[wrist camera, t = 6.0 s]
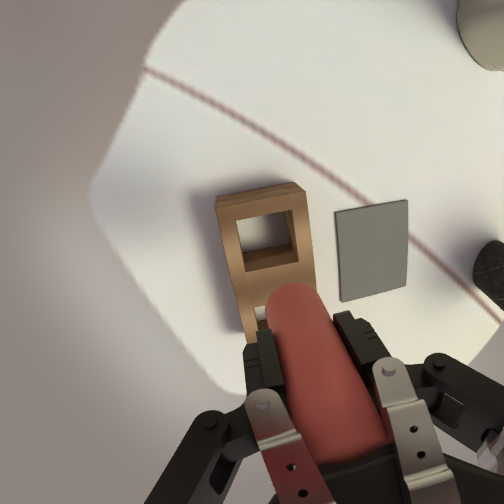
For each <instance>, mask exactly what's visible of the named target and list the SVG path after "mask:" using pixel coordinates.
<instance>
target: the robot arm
mask: <svg viewBox="0 0 504 504" xmlns="http://www.w3.org/2000/svg"><path fill="white" fill-rule="evenodd" d="M458 1H459V8H458V11H457V25H458V29H459V33H460V35H461V38H462V40H463V42H464V44H465V46H466V48H467V50H468V51H469V53H470V54H471V56H472V57H473V58H474V59H475V60H476V61H477V62H478V63H479V64H480V65H481V66H482V67H484V68H485V69H488V70H490V71H504V0H458ZM333 323H334V325H335V327H336V329H337V331H338V333H339V335H340V337H341V339H342V341H343V343H344V345H345V346H346V348H347V350H348V352H349V354H350V356H351V358H352V360H353V362H354V364H355V366H356V368H357V370H358V372H359V374H360V376H361V378H362V380H363V382H364V384H365V386H366V388H367V390H368V393H369V395H370V397H371V399H372V401H373V403H374V405H375V407H376V409H377V411H378V413H379V415H380V417H381V421H382V424H383V427H384V430H385V433H386V436H387V437H389V438H390V440H391V443H390V444H387V445H385V446H382V447H379V448H377V449H375V450H374V451H372V452H371V453H369V454H367V455H366V456H364V457H362V458H360V459H359V460H357V461H355V462H347V463H332V464H323V465H319V466H316V464H315V462H314V460H313V458H312V456H311V454H310V452H309V450H308V448H307V446H306V444H305V442H304V440H303V438H302V436H301V434H300V433H299V432H297V431H296V430H295V428H294V426H293V423H292V421H291V419H290V417H289V415H288V411H287V407H286V391H285V386H284V381H283V377H282V372H281V368H280V364H279V360H278V355H277V351H276V347H275V343H274V338H273V334H272V330H271V328H269V329H265V330H260V331H256V337H257V342H256V343H250V344H246V346H245V348H244V351H243V361H244V371H245V381H246V390H247V396H246V399H245V401H244V403H243V404H242V405H241V406H240V407H239V408H237V409H235V410H233V411H231V412H229V413H226V414H223V413H222V412H220V411H215V410H210V411H205V412H203V413H201V414H199V415H198V416H197V417H196V418H195V420H194V421H193V423H192V425H191V426H190V428H189V430H188V431H187V433H186V435H185V436H184V438H183V440H182V442H181V443H180V445H179V447H178V448H177V450H176V452H175V453H174V455H173V457H172V458H171V460H170V462H169V463H168V465H167V467H166V468H165V470H164V472H163V473H162V475H161V476H160V478H159V480H158V481H157V483H156V485H155V486H154V488H153V490H152V491H151V493H150V495H149V496H148V498H147V499H146V501H145V503H144V504H223V501H224V500H225V497H226V495H227V493H228V491H229V489H230V487H231V484H232V482H233V480H234V478H235V475H236V473H237V471H238V469H239V467H240V465H241V462H242V460H243V458H245V457H247V456H249V455H252V454H254V453H256V452H258V451H261V454H262V457H263V460H264V462H265V465H266V468H267V470H268V473H269V475H270V478H271V481H272V483H273V486H274V488H275V491H276V494H275V495H274V496H273V497H272V499H271V500H270V502H269V503H268V504H504V386H503V385H501V384H499V383H497V382H495V381H493V380H492V379H490V378H488V377H486V376H485V375H483V374H481V373H479V372H477V371H475V370H474V369H472V368H470V367H468V366H467V365H465V364H463V363H461V362H459V361H457V360H456V359H454V358H452V357H450V356H448V355H446V354H443V353H434V354H431V355H429V356H428V357H427V358H426V359H425V361H424V364H413V365H406V364H404V363H403V362H402V361H401V360H399V359H397V358H394V357H392V356H391V355H390V353H389V352H388V350H387V349H386V347H385V346H384V344H383V343H382V341H381V339H380V338H379V337H378V335H377V333H376V332H375V331H374V329H373V327H372V326H371V324H370V323H369V322H367V321H366V320H364V319H362V318H359V319H354V317H353V316H352V314H351V313H350V311H349V310H348V311H344V312H340V313H336V314H333ZM445 393H446V394H447V395H446V394H445ZM448 395H449V396H450V397H449V396H448ZM451 397H452V398H454V399H455V400H454V399H452V398H451ZM456 400H457V401H459V402H460V403H462V404H463V405H462V404H460V403H459V402H457V401H456ZM433 424H434V425H435V426H437V427H438V428H440V429H441V430H443V431H444V432H446V433H447V434H449V435H450V436H451V437H453V438H455V439H456V440H457V441H459V442H461V443H462V444H464V445H465V446H466V447H468V448H470V449H471V450H473V451H474V452H476V453H477V459H478V465H479V467H478V466H475V465H472V464H470V463H467V462H465V461H462V460H459V459H457V458H455V457H452V456H450V455H447V454H445V453H443V452H442V449H441V446H440V443H439V440H438V437H437V434H436V431H435V428H434V425H433ZM483 468H485V469H483Z"/></svg>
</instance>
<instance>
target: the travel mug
mask: <svg viewBox="0 0 504 504" xmlns="http://www.w3.org/2000/svg"><path fill="white" fill-rule="evenodd" d="M473 280H474V283H475V285H476V286H477V287H478V288H479V289H480V290H481V291H482V292H484V293H485V294H486V295H487V296H488V297H489V298H490V299H491V300H492V301H493V302H494V303H496V304H497V305H498V306H499V307H500V308H501V309H502V310H503V311H504V243H502V242H500V241H492V242H490V243H488V244H487V245H486V246H485V247H484V248H483V249H482V251H481V252H480V254H479V255H478V257H477V259H476V262H475V265H474V269H473Z"/></svg>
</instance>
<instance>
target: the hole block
mask: <svg viewBox="0 0 504 504" xmlns="http://www.w3.org/2000/svg"><path fill="white" fill-rule="evenodd" d="M215 210H216V215H217V219H218V224H219V228H220V232H221V237H222V241H223V246H224V250H225V254H226V258H227V263H228V267H229V271H230V275H231V280H232V284H233V288H234V292H235V296H236V300H237V305H238V309H239V313H240V317H241V321H242V325H243V329H244V333H245V337H246V341H247V344H250V343H256V342H257V337H256V331H260V330H265V329H269V327H268V322H267V320H263V321H258V322H257V319H256V314H255V310H254V307H258V306H263V305H266V303H267V300H268V299H269V297H270V296H271V294H272V293H273V292H274V291H276V290H277V289H278V288H280V287H282V286H284V285H287V284H291V283H303V284H306V285H309V286H311V287H312V288H314V289H315V290H316V292H317V289H316V278H315V268H314V258H313V248H312V239H311V231H310V222H309V214H308V206H307V198H306V191H305V190H303V189H302V188H301V187H300V186H299V185H297V184H296V183H295V182H292V183H286V184H280V185H275V186H269V187H264V188H258V189H253V190H248V191H243V192H238V193H233V194H228V195H223V196H218V197H216V205H215ZM282 211H285V215H286V222H287V229H288V236H289V242H290V244H287V245H282V246H277V247H272V248H267V249H262V250H257V251H252V252H247V253H242V248H241V243H240V238H239V234H238V229H237V224H236V220H241V219H246V218H251V217H256V216H261V215H266V214H271V213H277V212H282Z"/></svg>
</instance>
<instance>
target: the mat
mask: <svg viewBox="0 0 504 504" xmlns="http://www.w3.org/2000/svg"><path fill="white" fill-rule="evenodd" d="M335 215H336V226H337V238H338V252H339V268H340V288H341V302H342V303H343V302H347V301H351V300H355V299H359V298H363V297H367V296H371V295H374V294H378V293H382V292H386V291H389V290H393V289H397V288H400V287H404V286H406V275H407V255H408V200H403V201H397V202H391V203H385V204H379V205H374V206H368V207H362V208H357V209H351V210H345V211H340V212H335Z"/></svg>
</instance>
